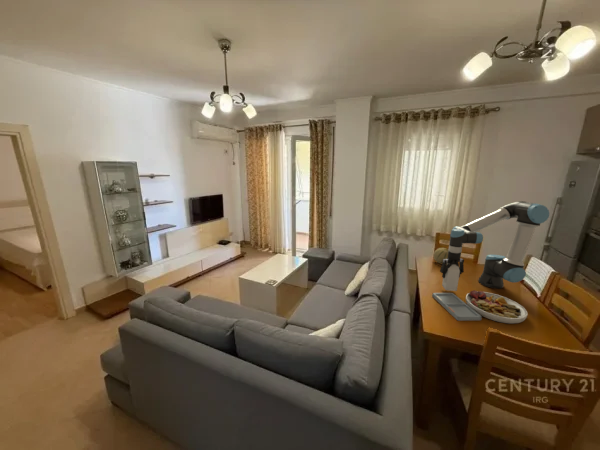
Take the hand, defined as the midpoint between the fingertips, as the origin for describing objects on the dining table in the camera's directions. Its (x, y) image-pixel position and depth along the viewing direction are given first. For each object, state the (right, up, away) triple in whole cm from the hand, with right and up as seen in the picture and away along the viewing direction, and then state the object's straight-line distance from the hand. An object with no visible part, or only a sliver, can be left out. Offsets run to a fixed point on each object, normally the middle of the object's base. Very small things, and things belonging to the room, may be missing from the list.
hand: (450, 281), depth 171 cm
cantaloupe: (+24, +5, +52) cm, 58 cm away
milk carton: (0, -5, +1) cm, 6 cm away
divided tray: (-8, -12, -17) cm, 22 cm away
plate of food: (+15, -14, -20) cm, 28 cm away
